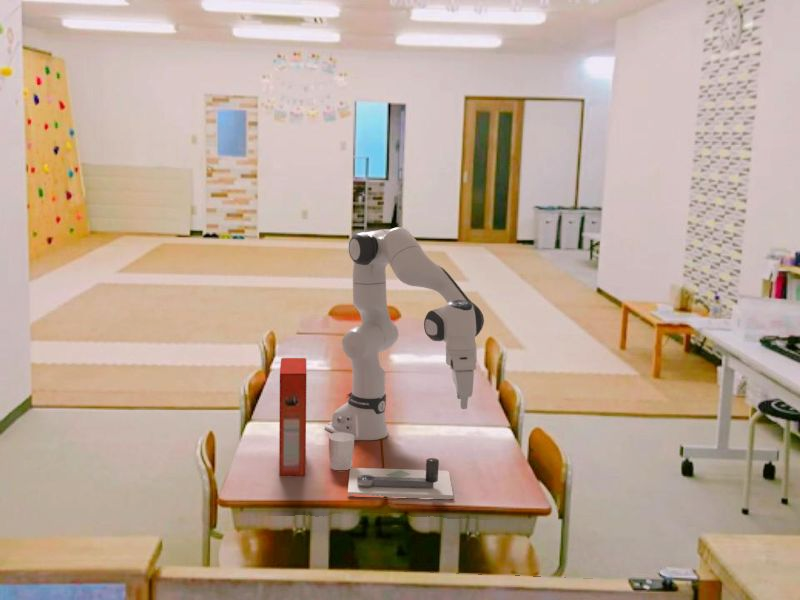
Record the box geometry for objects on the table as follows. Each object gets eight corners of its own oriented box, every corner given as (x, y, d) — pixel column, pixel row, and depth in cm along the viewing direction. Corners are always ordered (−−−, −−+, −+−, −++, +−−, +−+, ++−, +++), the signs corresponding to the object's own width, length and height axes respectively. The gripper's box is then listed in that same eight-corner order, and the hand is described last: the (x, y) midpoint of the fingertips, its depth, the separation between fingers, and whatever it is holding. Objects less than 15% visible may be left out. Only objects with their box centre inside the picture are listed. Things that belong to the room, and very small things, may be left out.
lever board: (347, 497, 247) (347, 491, 246) (349, 472, 264) (350, 467, 264) (452, 500, 248) (453, 494, 247) (448, 475, 265) (448, 470, 265)
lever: (356, 487, 249) (357, 461, 247) (357, 480, 254) (358, 454, 252) (438, 489, 249) (439, 463, 248) (437, 482, 254) (438, 457, 253)
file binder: (278, 476, 259) (279, 373, 253) (279, 455, 276) (281, 357, 270) (305, 476, 260) (307, 373, 254) (305, 455, 277) (307, 358, 271)
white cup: (334, 473, 263) (334, 442, 261) (324, 464, 270) (324, 434, 268) (357, 470, 266) (358, 439, 264) (347, 461, 273) (348, 431, 271)
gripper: (446, 348, 259) (447, 393, 262) (454, 366, 239) (454, 414, 242) (467, 347, 260) (468, 392, 262) (476, 365, 240) (477, 413, 242)
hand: (462, 403), depth 252 cm, fingers open, 8 cm apart
